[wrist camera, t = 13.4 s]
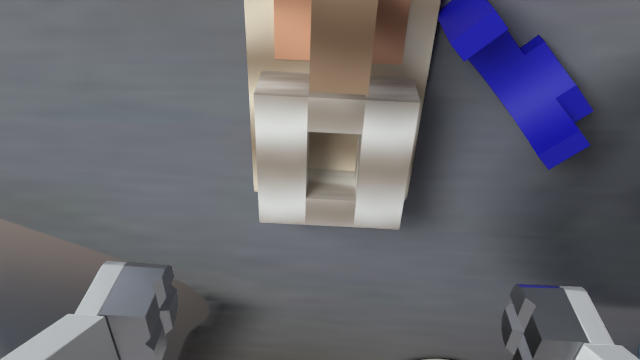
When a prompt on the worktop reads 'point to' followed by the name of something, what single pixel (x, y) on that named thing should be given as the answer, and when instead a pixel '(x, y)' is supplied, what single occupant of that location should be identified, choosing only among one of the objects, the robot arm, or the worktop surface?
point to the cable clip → (520, 78)
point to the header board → (335, 117)
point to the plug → (341, 45)
